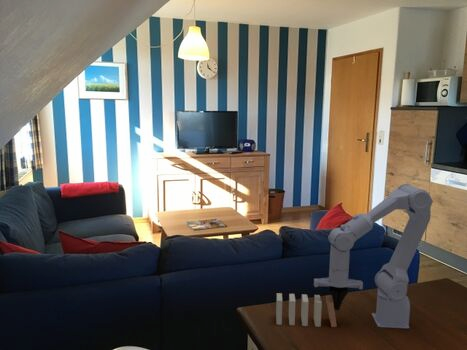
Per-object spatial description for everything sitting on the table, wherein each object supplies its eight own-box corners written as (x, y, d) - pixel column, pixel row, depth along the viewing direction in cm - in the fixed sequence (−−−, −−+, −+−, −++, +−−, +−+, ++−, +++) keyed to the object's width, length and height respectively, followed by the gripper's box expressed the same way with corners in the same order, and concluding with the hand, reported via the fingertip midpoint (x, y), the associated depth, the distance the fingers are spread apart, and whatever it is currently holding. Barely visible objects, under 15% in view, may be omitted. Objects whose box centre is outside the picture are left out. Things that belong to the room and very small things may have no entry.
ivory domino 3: (306, 317, 129) (307, 294, 128) (307, 326, 124) (308, 302, 123) (301, 317, 129) (301, 294, 128) (302, 325, 124) (303, 301, 123)
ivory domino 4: (318, 318, 129) (319, 295, 128) (320, 326, 124) (321, 302, 123) (313, 318, 129) (314, 294, 128) (315, 326, 124) (316, 302, 123)
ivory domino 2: (293, 317, 130) (294, 293, 128) (294, 325, 125) (295, 301, 123) (288, 316, 130) (289, 293, 128) (289, 325, 125) (290, 301, 123)
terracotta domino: (331, 327, 124) (327, 303, 123) (329, 318, 129) (325, 295, 127) (336, 326, 124) (333, 302, 122) (334, 318, 128) (330, 295, 127)
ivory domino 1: (281, 316, 130) (281, 293, 129) (281, 324, 125) (282, 300, 124) (276, 316, 130) (276, 293, 129) (276, 324, 125) (277, 300, 124)
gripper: (360, 263, 126) (357, 303, 129) (313, 261, 127) (311, 301, 130) (365, 272, 119) (362, 314, 122) (316, 270, 121) (314, 312, 123)
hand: (336, 308), depth 125 cm, fingers closed
